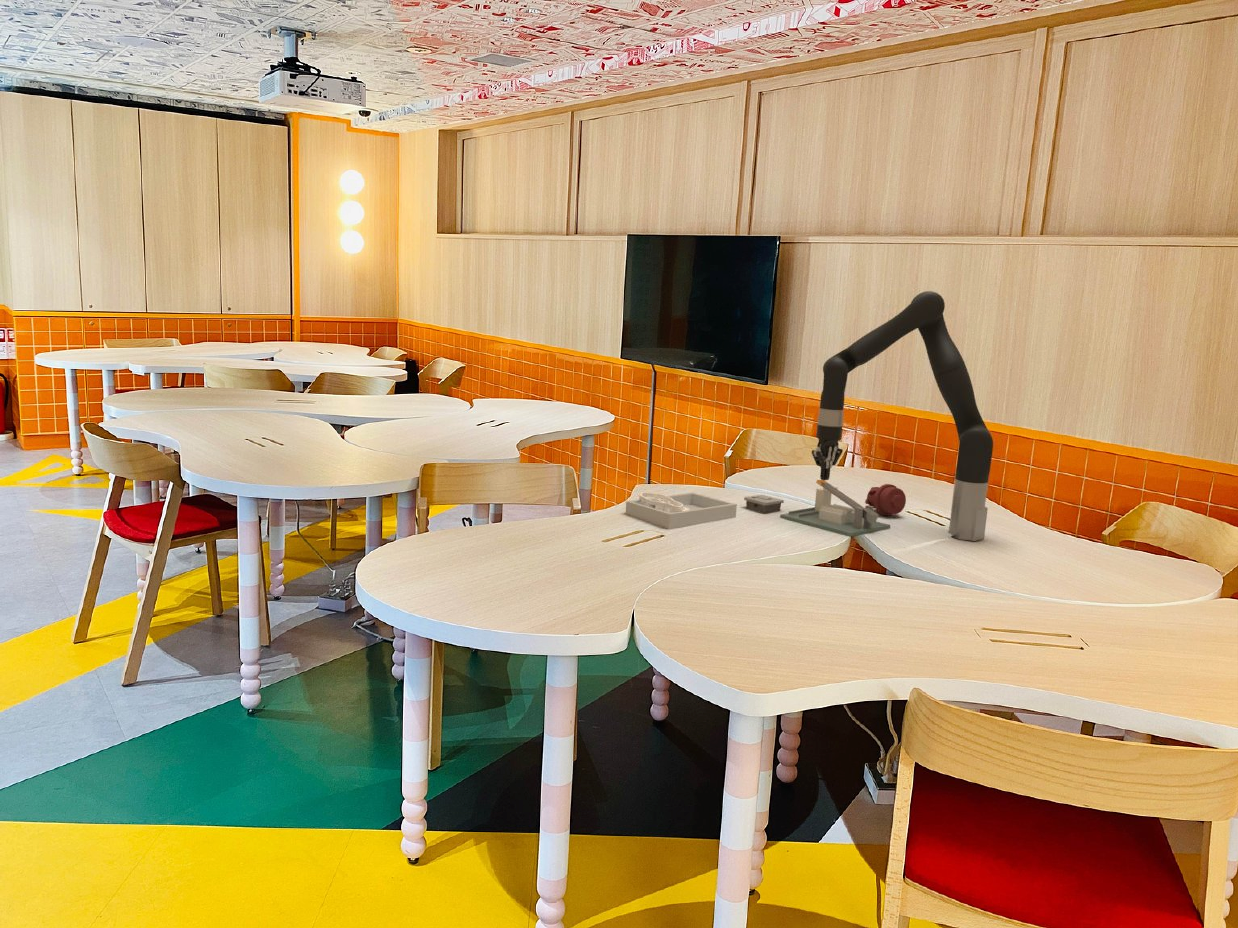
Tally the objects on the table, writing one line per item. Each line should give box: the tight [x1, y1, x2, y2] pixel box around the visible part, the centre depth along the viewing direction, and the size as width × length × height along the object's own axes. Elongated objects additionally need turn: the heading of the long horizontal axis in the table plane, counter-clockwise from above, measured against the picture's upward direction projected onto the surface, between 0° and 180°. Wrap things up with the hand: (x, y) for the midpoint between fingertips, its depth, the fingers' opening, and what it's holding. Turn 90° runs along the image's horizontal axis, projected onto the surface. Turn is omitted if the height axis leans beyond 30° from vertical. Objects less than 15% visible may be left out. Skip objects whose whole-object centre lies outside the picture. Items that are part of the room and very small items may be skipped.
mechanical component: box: [864, 483, 907, 516], centre depth 300 cm, size 12×10×10 cm
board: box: [779, 503, 891, 537], centre depth 284 cm, size 26×20×7 cm
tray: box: [625, 492, 738, 530], centre depth 282 cm, size 19×28×4 cm
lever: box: [815, 479, 880, 523], centre depth 281 cm, size 22×3×2 cm, turn 41°
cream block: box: [814, 485, 838, 511], centre depth 295 cm, size 5×4×8 cm
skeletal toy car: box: [638, 491, 690, 513], centre depth 279 cm, size 20×11×7 cm, turn 21°
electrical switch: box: [743, 494, 784, 514], centre depth 297 cm, size 9×5×9 cm
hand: (824, 479), depth 287 cm, fingers closed
